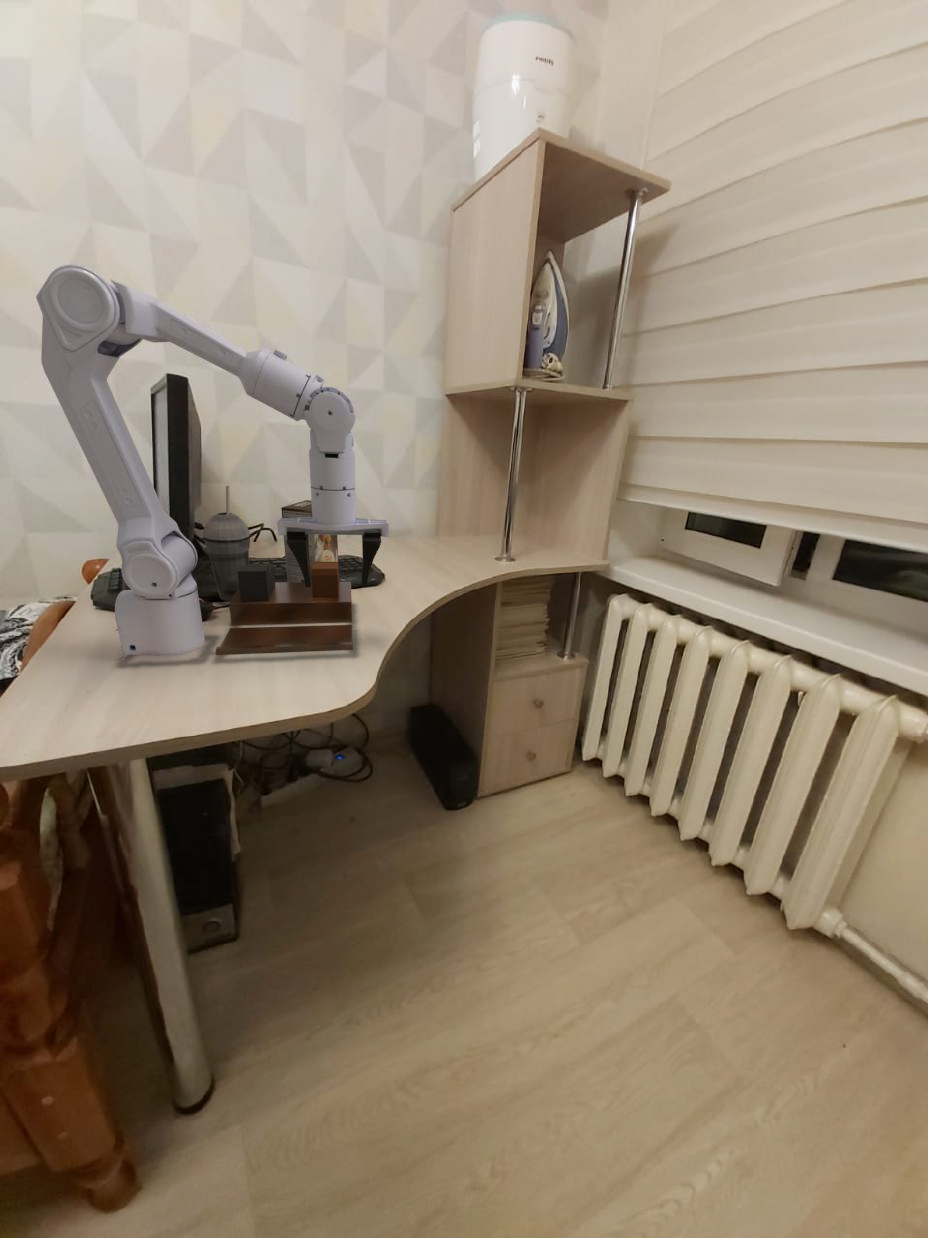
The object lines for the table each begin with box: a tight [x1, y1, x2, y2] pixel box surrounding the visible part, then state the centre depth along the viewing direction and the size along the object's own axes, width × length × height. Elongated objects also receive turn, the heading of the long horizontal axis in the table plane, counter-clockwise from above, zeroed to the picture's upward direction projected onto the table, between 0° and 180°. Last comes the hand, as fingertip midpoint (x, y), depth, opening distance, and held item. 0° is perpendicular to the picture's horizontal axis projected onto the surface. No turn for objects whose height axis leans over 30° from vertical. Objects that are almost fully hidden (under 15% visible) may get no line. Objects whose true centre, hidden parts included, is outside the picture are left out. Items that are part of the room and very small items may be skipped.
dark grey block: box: [237, 563, 276, 601], centre depth 79 cm, size 8×4×5 cm, turn 13°
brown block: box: [311, 561, 340, 597], centre depth 82 cm, size 8×4×5 cm, turn 13°
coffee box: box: [280, 499, 339, 582], centre depth 93 cm, size 9×6×16 cm
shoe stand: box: [215, 581, 354, 656], centre depth 77 cm, size 18×20×4 cm
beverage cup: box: [202, 485, 252, 602], centre depth 84 cm, size 7×7×20 cm
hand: (336, 584), depth 71 cm, fingers open, 7 cm apart
